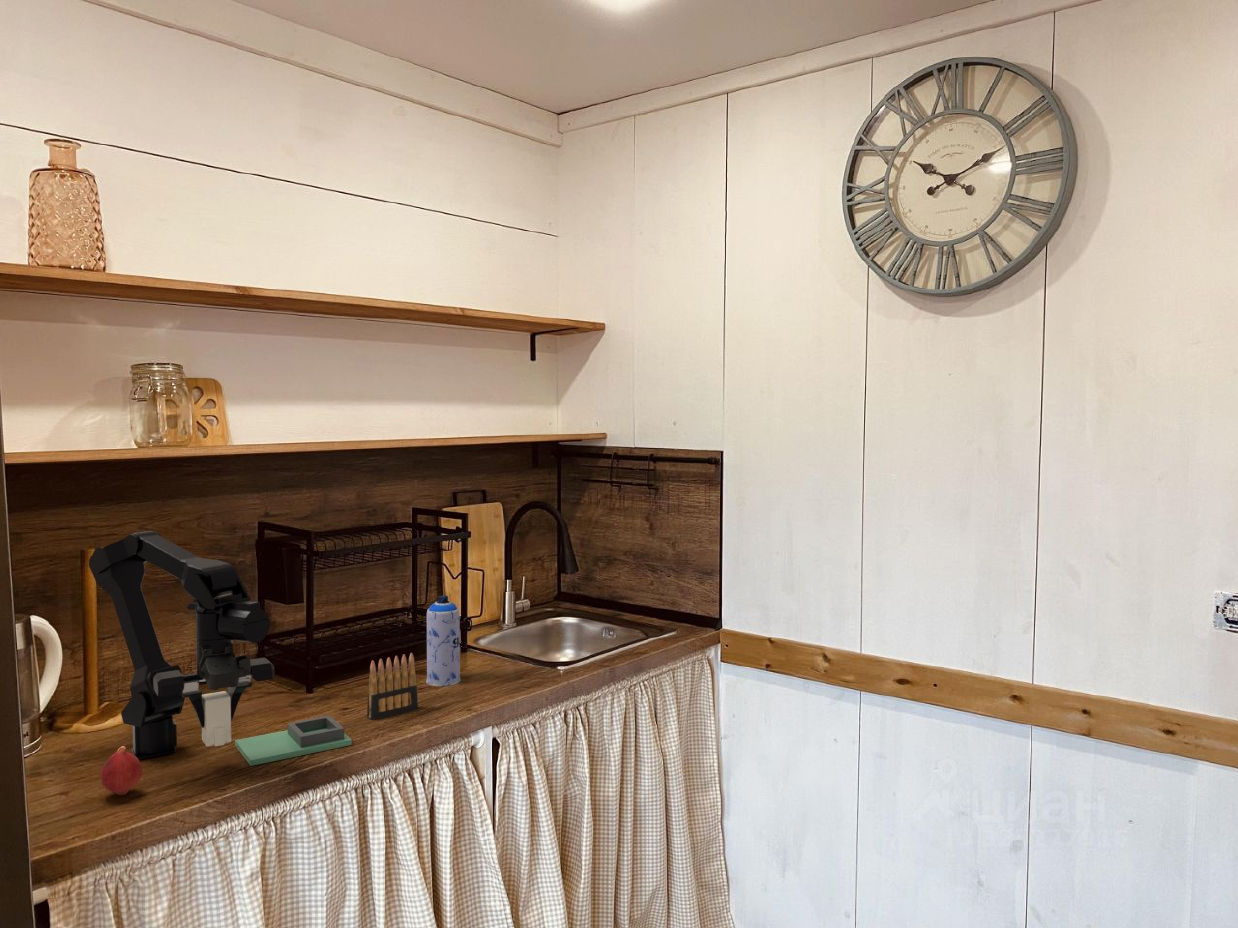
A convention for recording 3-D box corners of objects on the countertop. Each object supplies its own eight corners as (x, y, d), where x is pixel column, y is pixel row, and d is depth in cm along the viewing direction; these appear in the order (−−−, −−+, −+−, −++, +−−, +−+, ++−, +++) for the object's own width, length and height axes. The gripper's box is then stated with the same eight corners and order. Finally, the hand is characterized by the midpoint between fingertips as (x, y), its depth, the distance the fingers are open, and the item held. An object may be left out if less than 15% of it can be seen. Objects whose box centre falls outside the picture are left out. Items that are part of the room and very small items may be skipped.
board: (250, 765, 158) (250, 749, 157) (235, 745, 167) (234, 729, 167) (351, 744, 168) (351, 729, 168) (331, 726, 178) (331, 711, 178)
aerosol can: (454, 686, 204) (454, 600, 203) (421, 685, 205) (421, 599, 204) (464, 676, 212) (464, 593, 211) (432, 675, 213) (432, 592, 212)
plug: (207, 747, 153) (206, 701, 153) (199, 735, 159) (198, 691, 159) (232, 743, 156) (231, 697, 155) (223, 730, 162) (222, 687, 161)
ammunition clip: (413, 706, 190) (413, 650, 190) (418, 708, 189) (417, 652, 188) (366, 717, 183) (366, 660, 182) (371, 720, 182) (370, 661, 181)
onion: (103, 805, 141) (102, 755, 141) (99, 793, 146) (98, 744, 145) (144, 796, 145) (143, 748, 144) (139, 784, 149) (138, 737, 149)
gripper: (162, 654, 144) (164, 749, 145) (282, 638, 155) (283, 727, 155) (151, 640, 153) (154, 730, 154) (265, 626, 164) (267, 710, 165)
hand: (216, 724), depth 157 cm, fingers closed on plug, 4 cm apart
